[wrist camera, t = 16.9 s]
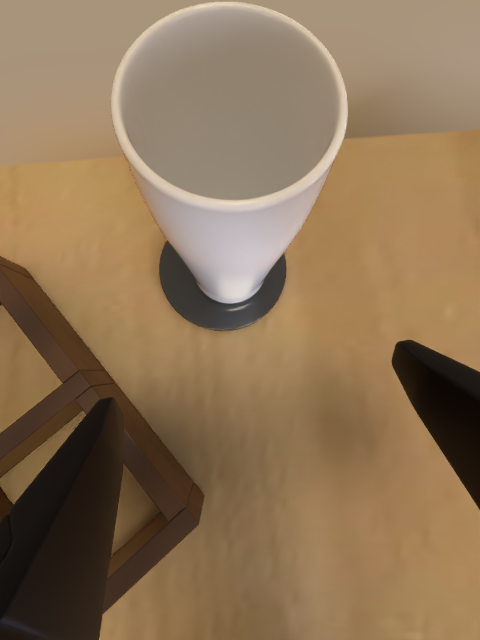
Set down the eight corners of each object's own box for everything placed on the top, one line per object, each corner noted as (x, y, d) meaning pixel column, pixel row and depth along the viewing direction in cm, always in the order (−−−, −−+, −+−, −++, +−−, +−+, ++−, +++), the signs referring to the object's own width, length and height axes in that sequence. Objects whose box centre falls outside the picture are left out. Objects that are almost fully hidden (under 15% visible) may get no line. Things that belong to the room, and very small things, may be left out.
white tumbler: (168, 255, 23) (61, 55, 8) (244, 213, 24) (269, -38, 9) (213, 332, 22) (184, 258, 8) (291, 286, 23) (401, 137, 8)
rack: (204, 495, 21) (199, 524, 17) (69, 620, 20) (29, 683, 16) (25, 268, 23) (-17, 247, 19) (-109, 365, 22) (-185, 364, 18)
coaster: (299, 314, 23) (301, 313, 23) (175, 344, 23) (174, 343, 22) (267, 200, 25) (268, 197, 24) (149, 225, 24) (147, 222, 24)
